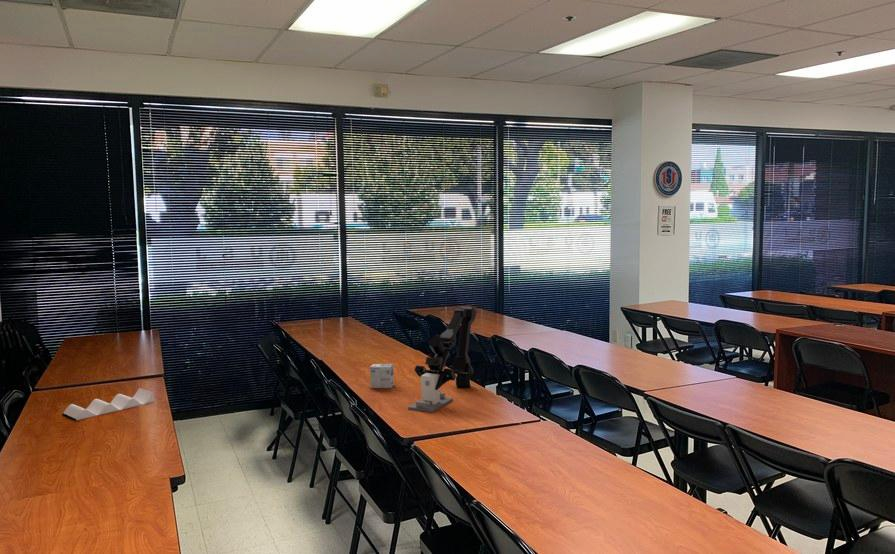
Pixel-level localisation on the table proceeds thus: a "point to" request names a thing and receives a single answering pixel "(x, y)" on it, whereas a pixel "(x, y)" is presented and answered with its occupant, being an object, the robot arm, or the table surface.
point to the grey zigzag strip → (108, 405)
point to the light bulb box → (381, 376)
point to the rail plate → (430, 404)
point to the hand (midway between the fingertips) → (428, 389)
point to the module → (430, 388)
